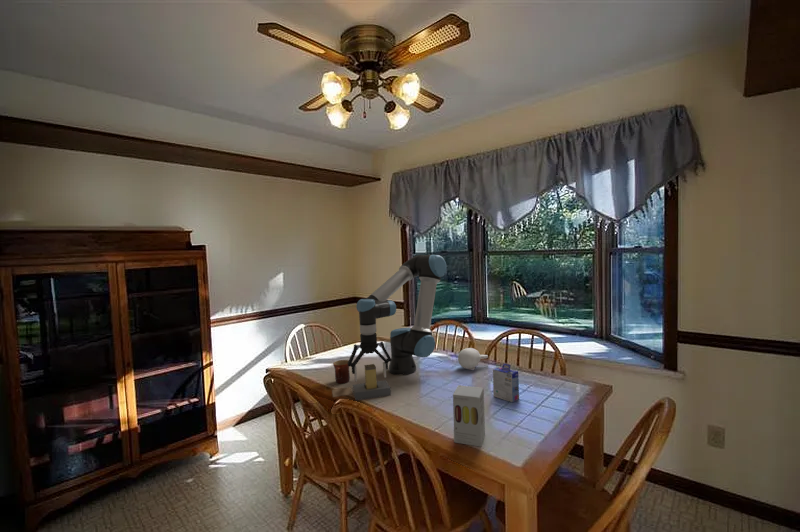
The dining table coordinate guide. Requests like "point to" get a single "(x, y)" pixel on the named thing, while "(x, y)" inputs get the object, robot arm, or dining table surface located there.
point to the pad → (342, 392)
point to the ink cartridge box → (505, 383)
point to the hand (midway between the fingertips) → (370, 378)
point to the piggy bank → (470, 358)
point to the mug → (342, 371)
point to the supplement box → (469, 415)
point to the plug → (370, 376)
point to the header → (371, 390)
